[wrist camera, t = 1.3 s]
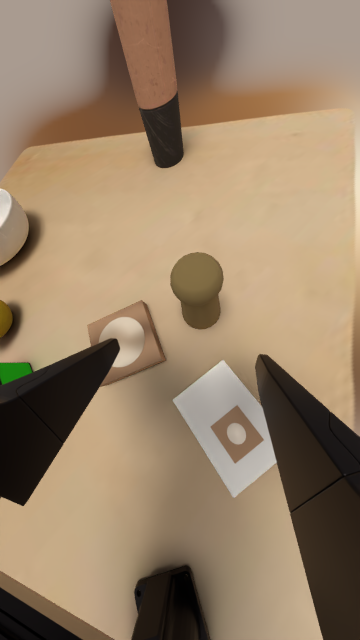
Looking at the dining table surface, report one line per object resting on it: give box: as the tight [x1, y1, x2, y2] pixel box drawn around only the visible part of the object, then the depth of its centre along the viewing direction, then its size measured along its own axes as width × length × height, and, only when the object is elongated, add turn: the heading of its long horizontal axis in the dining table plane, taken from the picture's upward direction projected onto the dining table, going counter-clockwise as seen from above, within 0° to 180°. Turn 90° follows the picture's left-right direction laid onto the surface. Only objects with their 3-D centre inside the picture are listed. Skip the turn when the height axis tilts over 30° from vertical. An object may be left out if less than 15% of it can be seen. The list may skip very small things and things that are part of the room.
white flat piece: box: [173, 360, 277, 498], centre depth 19 cm, size 12×9×1 cm
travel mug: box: [110, 0, 183, 168], centre depth 26 cm, size 8×8×20 cm
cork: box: [171, 252, 223, 329], centre depth 18 cm, size 6×6×11 cm
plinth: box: [87, 300, 166, 387], centre depth 23 cm, size 10×10×2 cm
